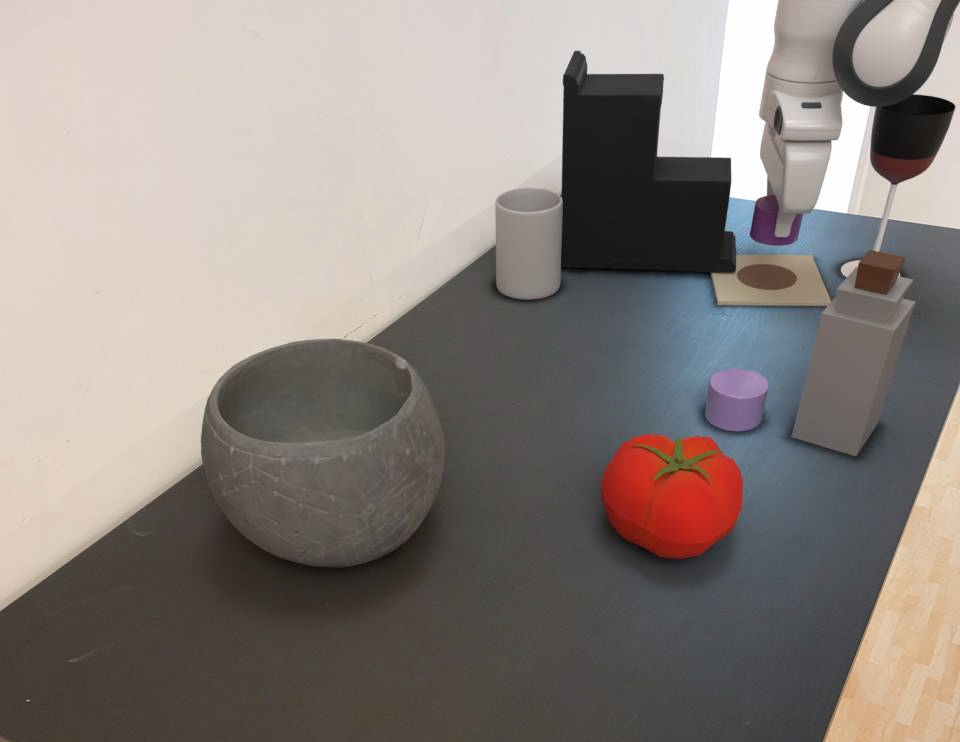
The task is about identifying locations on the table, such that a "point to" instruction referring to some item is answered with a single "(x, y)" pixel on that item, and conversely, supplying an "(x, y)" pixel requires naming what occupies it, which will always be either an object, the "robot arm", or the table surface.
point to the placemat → (771, 282)
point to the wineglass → (905, 145)
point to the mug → (528, 243)
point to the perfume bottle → (855, 355)
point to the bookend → (635, 182)
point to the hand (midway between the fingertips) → (776, 223)
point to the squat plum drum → (771, 223)
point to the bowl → (323, 450)
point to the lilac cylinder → (736, 399)
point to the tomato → (672, 494)
